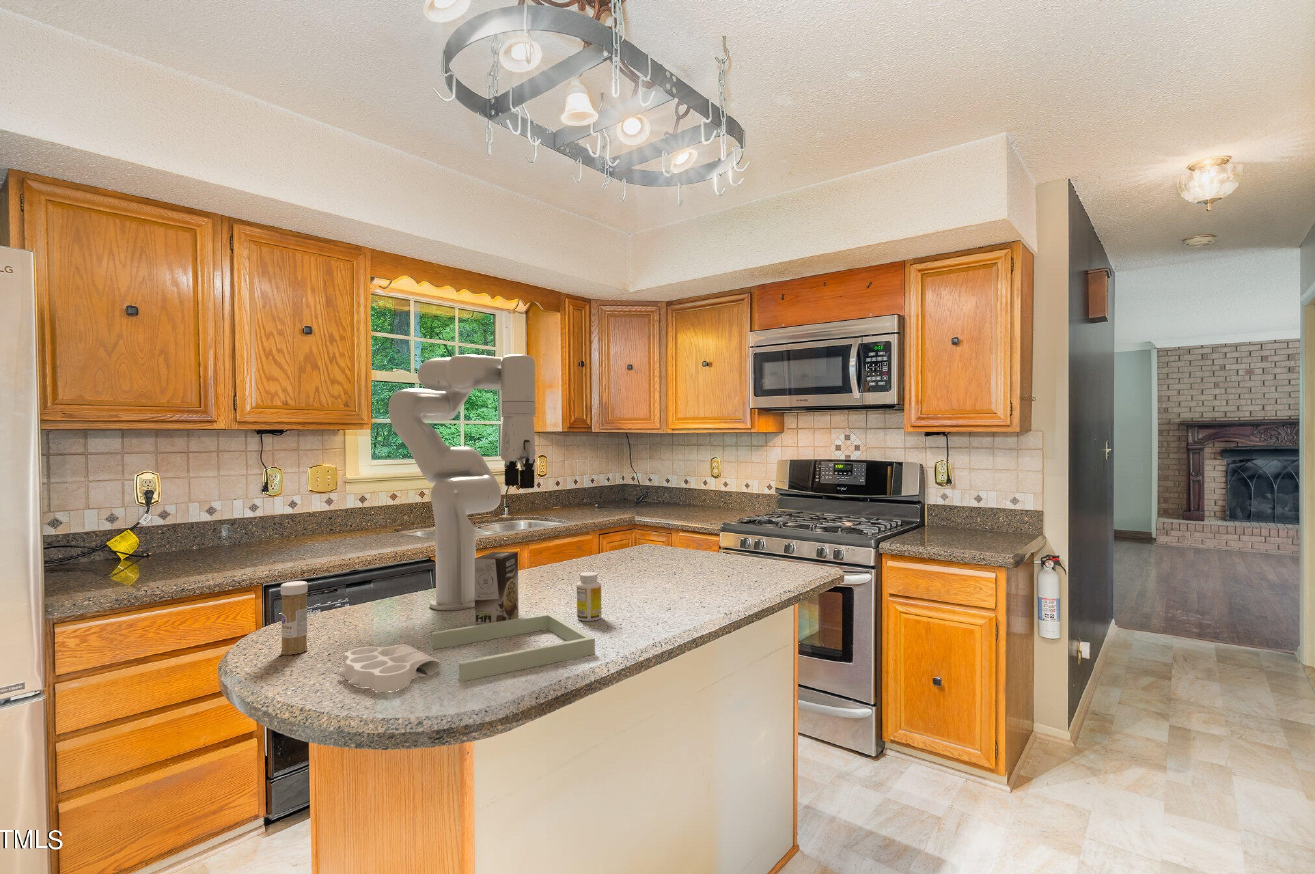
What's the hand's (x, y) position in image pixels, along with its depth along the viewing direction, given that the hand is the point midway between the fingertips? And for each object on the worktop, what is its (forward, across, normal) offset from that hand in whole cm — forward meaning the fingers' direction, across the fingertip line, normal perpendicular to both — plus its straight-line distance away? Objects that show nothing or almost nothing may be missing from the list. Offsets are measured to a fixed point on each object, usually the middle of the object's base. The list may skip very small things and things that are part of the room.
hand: (519, 486), depth 145 cm
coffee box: (+31, +2, -6) cm, 31 cm away
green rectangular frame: (+30, +18, -8) cm, 36 cm away
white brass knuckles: (+31, +18, -31) cm, 47 cm away
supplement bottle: (+31, +6, +14) cm, 34 cm away
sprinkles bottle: (+31, -5, -44) cm, 54 cm away
